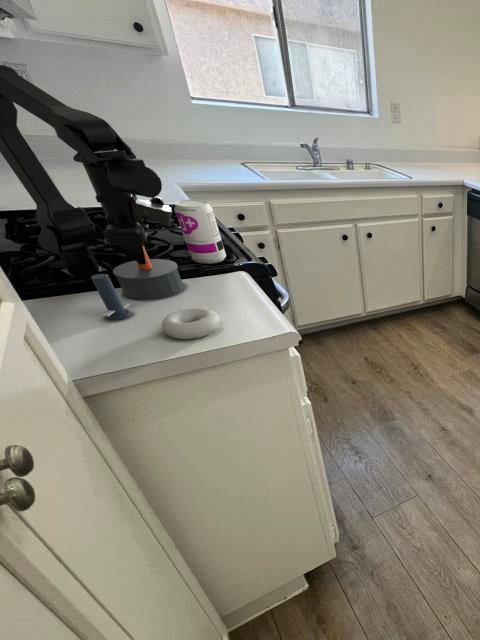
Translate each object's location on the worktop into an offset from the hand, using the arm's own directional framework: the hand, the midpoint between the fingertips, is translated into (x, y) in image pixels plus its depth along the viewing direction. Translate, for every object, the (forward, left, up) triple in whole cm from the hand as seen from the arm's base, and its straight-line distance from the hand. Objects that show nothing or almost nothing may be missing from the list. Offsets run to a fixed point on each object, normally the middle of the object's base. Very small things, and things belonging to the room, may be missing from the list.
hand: (143, 261), depth 94 cm
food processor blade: (+8, -11, -7) cm, 15 cm away
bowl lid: (0, 0, -2) cm, 2 cm away
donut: (+24, -5, -7) cm, 25 cm away
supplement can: (-10, +19, -7) cm, 23 cm away
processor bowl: (0, 0, -7) cm, 7 cm away
